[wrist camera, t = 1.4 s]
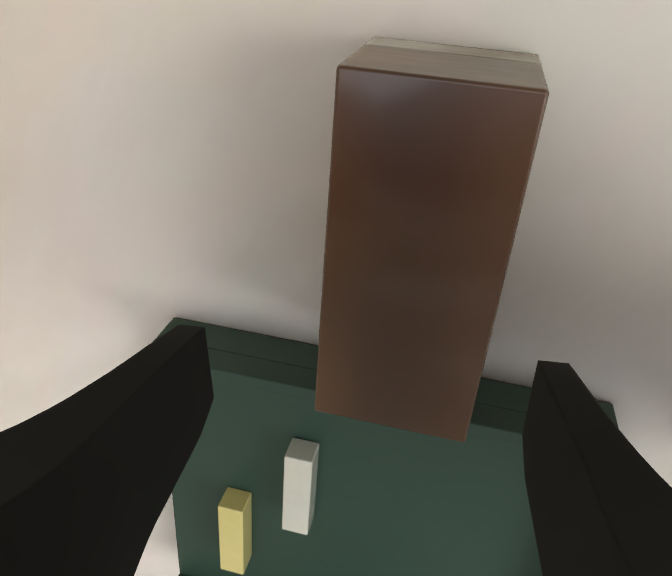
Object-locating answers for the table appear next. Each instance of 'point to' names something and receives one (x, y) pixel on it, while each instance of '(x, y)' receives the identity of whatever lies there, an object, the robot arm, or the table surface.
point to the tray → (352, 477)
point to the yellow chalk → (235, 530)
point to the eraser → (421, 227)
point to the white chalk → (299, 485)
